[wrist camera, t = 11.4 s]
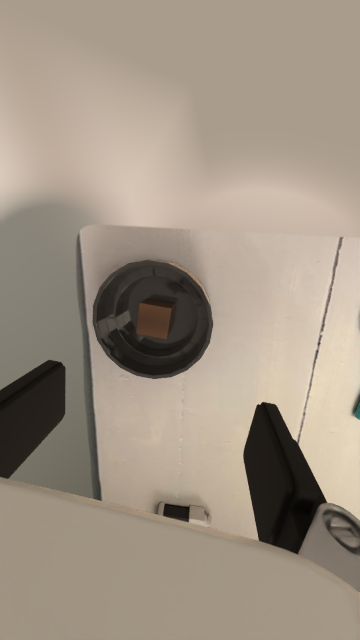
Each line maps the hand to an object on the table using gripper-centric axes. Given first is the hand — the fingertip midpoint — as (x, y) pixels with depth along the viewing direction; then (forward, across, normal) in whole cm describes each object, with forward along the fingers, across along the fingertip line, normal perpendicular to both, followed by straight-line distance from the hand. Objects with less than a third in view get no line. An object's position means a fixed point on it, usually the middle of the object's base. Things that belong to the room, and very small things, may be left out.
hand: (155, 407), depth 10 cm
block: (+22, +4, +2) cm, 23 cm away
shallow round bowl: (+23, +4, +1) cm, 23 cm away
